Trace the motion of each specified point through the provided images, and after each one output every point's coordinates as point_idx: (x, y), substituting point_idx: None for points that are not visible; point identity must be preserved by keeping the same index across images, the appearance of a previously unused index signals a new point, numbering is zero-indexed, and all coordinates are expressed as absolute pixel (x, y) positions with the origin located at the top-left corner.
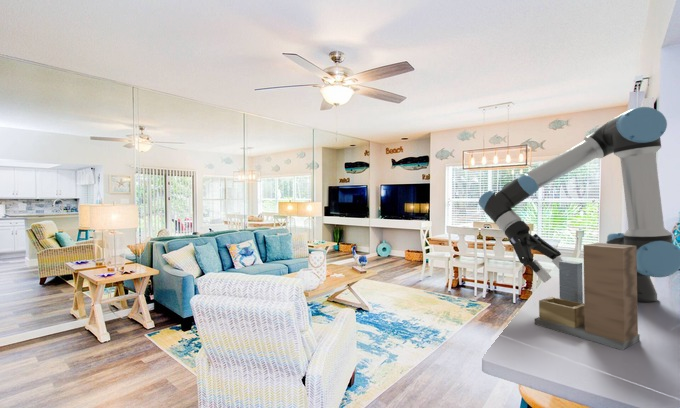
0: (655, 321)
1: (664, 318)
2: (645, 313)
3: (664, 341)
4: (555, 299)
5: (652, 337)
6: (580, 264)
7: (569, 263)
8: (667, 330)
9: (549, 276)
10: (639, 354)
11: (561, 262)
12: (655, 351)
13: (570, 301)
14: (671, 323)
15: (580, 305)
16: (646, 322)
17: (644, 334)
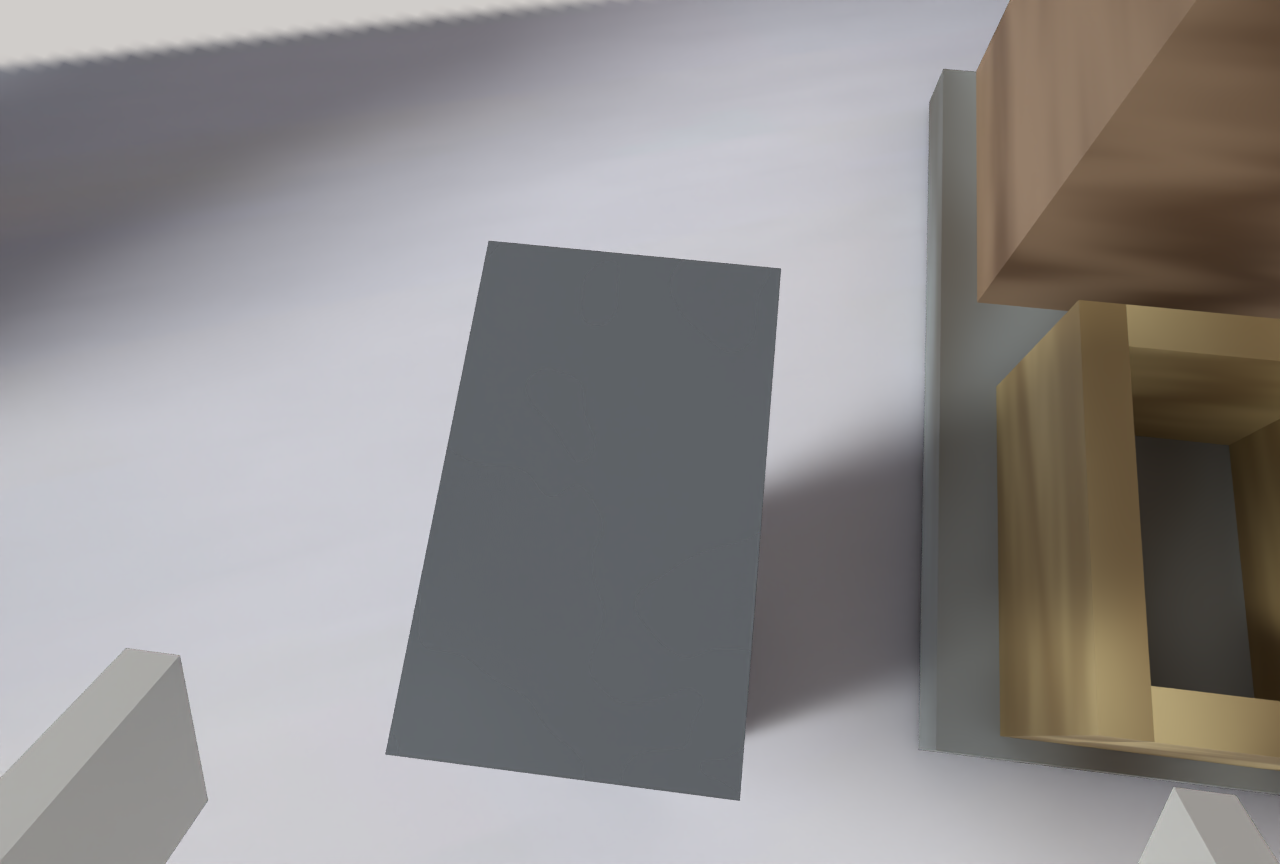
0: (279, 125)
1: (129, 100)
2: (52, 214)
3: (779, 18)
4: (1138, 664)
5: (752, 73)
6: (590, 267)
7: (762, 471)
8: (483, 42)
9: (1250, 818)
10: None
11: (745, 715)
12: None
13: (1118, 470)
14: (255, 51)
15: (1196, 334)
16: (364, 161)
17: (724, 115)
